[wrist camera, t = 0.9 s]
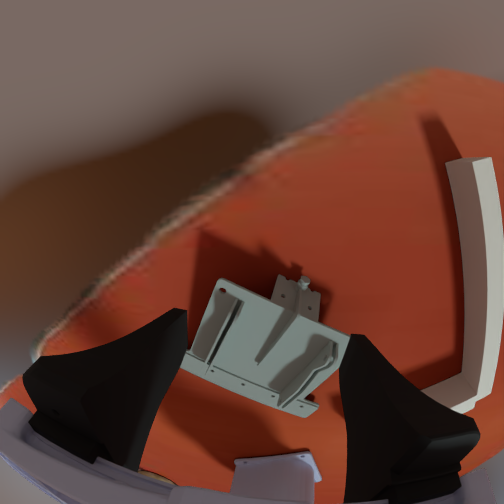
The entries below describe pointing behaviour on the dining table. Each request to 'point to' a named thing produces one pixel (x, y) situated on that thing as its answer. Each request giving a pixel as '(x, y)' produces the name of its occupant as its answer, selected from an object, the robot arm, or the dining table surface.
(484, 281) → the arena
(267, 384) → the metal bracket
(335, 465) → the dining table surface
